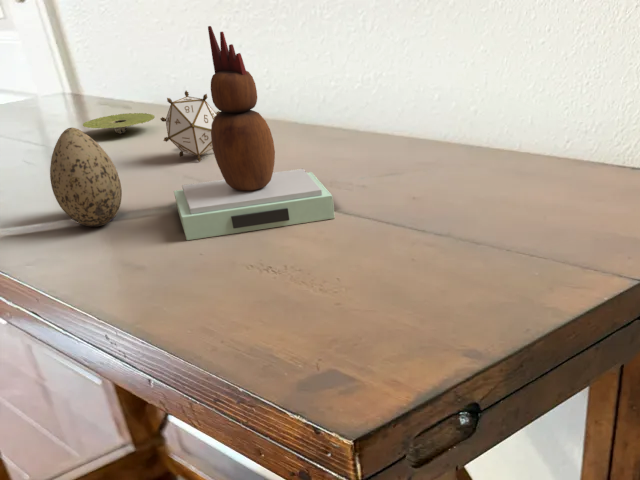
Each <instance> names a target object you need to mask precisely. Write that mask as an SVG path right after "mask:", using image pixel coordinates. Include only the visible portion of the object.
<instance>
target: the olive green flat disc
mask: <svg viewBox="0 0 640 480" xmlns="http://www.w3.org/2000/svg"><path fill="white" fill-rule="evenodd" d="M154 119H155V114H151V113H146V112H139V113H138V112H137V113H136V112H134V113H131V112H127V113H120V114H111V115H106V116H102V117H101V116H100V117H97V118H94V119H90V120H88V121H85V122H83V123H82V126H83V127H84V128H88V129H89V128H90V129H114V132H115V133H116V134H120V135H122V134H124V133H126V131H127V130H128V127H131V126H135V125H139V124H143V123H148V122H151V121H153V120H154Z"/></svg>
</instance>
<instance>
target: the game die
mask: <svg viewBox="0 0 640 480" xmlns="http://www.w3.org/2000/svg"><path fill="white" fill-rule="evenodd" d="M189 93H190V92H188V90H185V91H184V97H182V98H179V99H176V100H174V101H173V100H172V99H171V97H166V100H167V101H166V102H168V104H170V105H169V108H168V111H167V114H166V117H163V116H161V118H159V120H160V121H161V122H163V123H164V122H165V126H166V133H167V136H166V137H163V140H162V141H163V142H166V143H167V142H169V141H170V142H171V143H172V144H174V146H176V148H177V149H179V153H178V155H179V157H180V158H181V157H184V153H185V154H188V155H193V156H196V160H197V161H198V162H199V163H201V161H202V157H201V156H202V155H203V154H206V153H207V152H209V151H211V150H213V147H212V139H211V127H212V122H213V120H214V117H215V116H216V115H217V114H218V113H220V112H221V111H220V110H218V111H216V112H215V110H214V109H213V108H212V107H211V106H210V104H209V103H208V102H207V101H206V100H207V99H208V93H205V94H203V96H202V98H200V97H194V96H189V95H190V94H189Z"/></svg>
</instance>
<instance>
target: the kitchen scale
mask: <svg viewBox="0 0 640 480" xmlns="http://www.w3.org/2000/svg"><path fill="white" fill-rule="evenodd" d="M173 195H174V198H175V204H176V208H177V213H178V216H179V219H180V223H181V226H182V229H183V232H184V236H185V239H186V241H194V240H200V239H207V238H215V237H221V236H226V235H233V234H240V233H246V232H253V231H259V230H265V229H272V228H274V229H275V228H280V227H288V226H294V225H299V224H300V225H301V224H307V223H314V222H319V221H327V220H332V219H335V218H336V217H335V216H336V215H335V206H334V198H333V194H332V193H331V192H330V191H329V190H328V189H327V188H326V187H325V186H324V184H323V183H322V182H321V181H320V180H319V179H318V178H317V177H316V175H315V174H314V173H313V172H312V171H308V172H307V171H306V170H305V169H304V168H298V169H289V170H281V171H275V172H274V171H273V174H272V178H271V181H270V182H269V183H268V184H267V185H266V186H265V187H263V188H260V189H258V190H254V191H240V190H236V189H233V188H231V187H230V186H229V185H228V184H227V183H226V181H225V179H224V178H223V179H217V180H216V179H215V180H209V181H201V182H195V183H194V182H193V183H189V184H188V183H187V184H182V185H181V189H177V190H173Z"/></svg>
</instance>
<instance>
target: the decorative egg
mask: <svg viewBox="0 0 640 480" xmlns="http://www.w3.org/2000/svg"><path fill="white" fill-rule="evenodd" d="M49 178H50V185H51V189H52V193H53V195H54V198H55V200H56V202H57V203H58V206H59V207H60V208H61V210H62V211H63V212H64V214H66V216H68V218H70V219H71V220H73V221H74V222H76V223H78V224H80V225H83V226H84V227H85V226H86V227H90V228H91V227H93V228H94V227H95V228H98V227H102V226H104V225H107V224H108V223H109V222H110V221H112V220H113V219H114V218H115V217H116V215H117V214H118V212H119V209H120V207H121V203H122V197H123V190H122V189H123V188H122V183H121V180H120V175H119V173H118V170H117V168H116V166H115V165H114V163H113V161H112V159H111V157H110V156H109V155H108V153H107V152H106V151H105V150H104V149H103V148H102V146H101V145H100V144H99V143H98V142H97V141H96V140H94V138H93V137H91V136H89V135H88V134H87V133H85V132H84V131H82V130H81V129H79V128H77V127H67V128H66V129H65V130H63V131H62V133H61V134H60V136H59V138H58V139H57V140H56V143H55V145H54V147H53V151H52V154H51V158H50V165H49Z"/></svg>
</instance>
